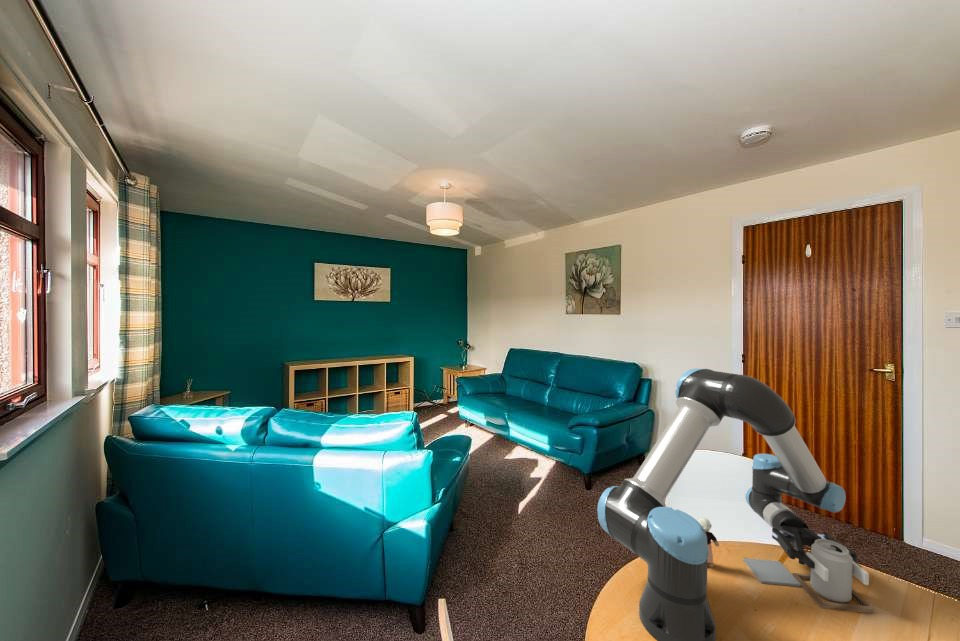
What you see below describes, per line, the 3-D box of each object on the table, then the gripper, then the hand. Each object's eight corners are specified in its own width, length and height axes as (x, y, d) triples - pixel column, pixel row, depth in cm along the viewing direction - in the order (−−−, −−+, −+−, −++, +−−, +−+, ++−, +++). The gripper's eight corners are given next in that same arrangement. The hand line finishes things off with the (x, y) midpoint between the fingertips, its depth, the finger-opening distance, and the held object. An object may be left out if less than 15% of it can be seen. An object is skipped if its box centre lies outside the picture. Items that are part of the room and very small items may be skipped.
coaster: (761, 583, 98) (761, 580, 98) (743, 560, 107) (743, 557, 107) (801, 586, 97) (801, 584, 97) (779, 563, 106) (779, 561, 106)
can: (859, 607, 90) (861, 557, 90) (822, 603, 92) (823, 553, 91) (837, 584, 98) (838, 538, 97) (803, 580, 99) (804, 534, 99)
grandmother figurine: (708, 557, 109) (709, 512, 108) (720, 566, 105) (721, 520, 104) (686, 562, 106) (686, 517, 106) (697, 571, 103) (698, 524, 102)
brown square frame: (821, 607, 90) (821, 603, 90) (792, 576, 101) (792, 572, 101) (873, 613, 89) (873, 609, 89) (838, 580, 99) (838, 576, 99)
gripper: (824, 538, 111) (897, 598, 88) (746, 532, 114) (796, 588, 91) (825, 512, 110) (898, 566, 88) (746, 507, 114) (797, 557, 91)
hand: (846, 577), depth 90 cm, fingers closed on can, 7 cm apart
